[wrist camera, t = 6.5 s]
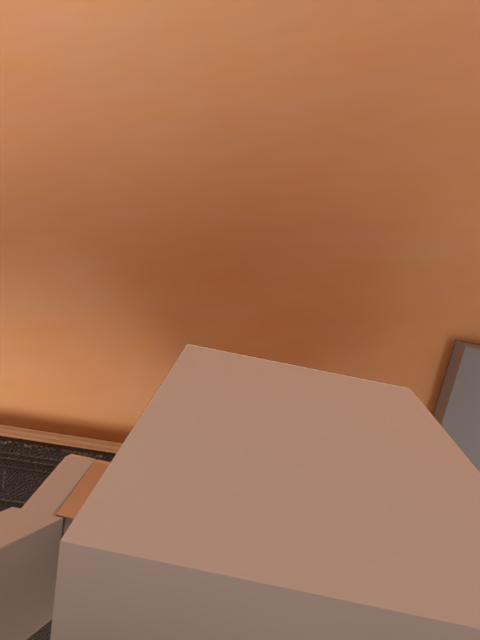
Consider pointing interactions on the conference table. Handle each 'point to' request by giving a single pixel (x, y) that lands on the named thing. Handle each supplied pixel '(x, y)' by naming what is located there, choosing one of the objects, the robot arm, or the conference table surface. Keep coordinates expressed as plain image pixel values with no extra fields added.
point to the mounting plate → (462, 400)
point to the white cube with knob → (275, 515)
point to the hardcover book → (40, 467)
